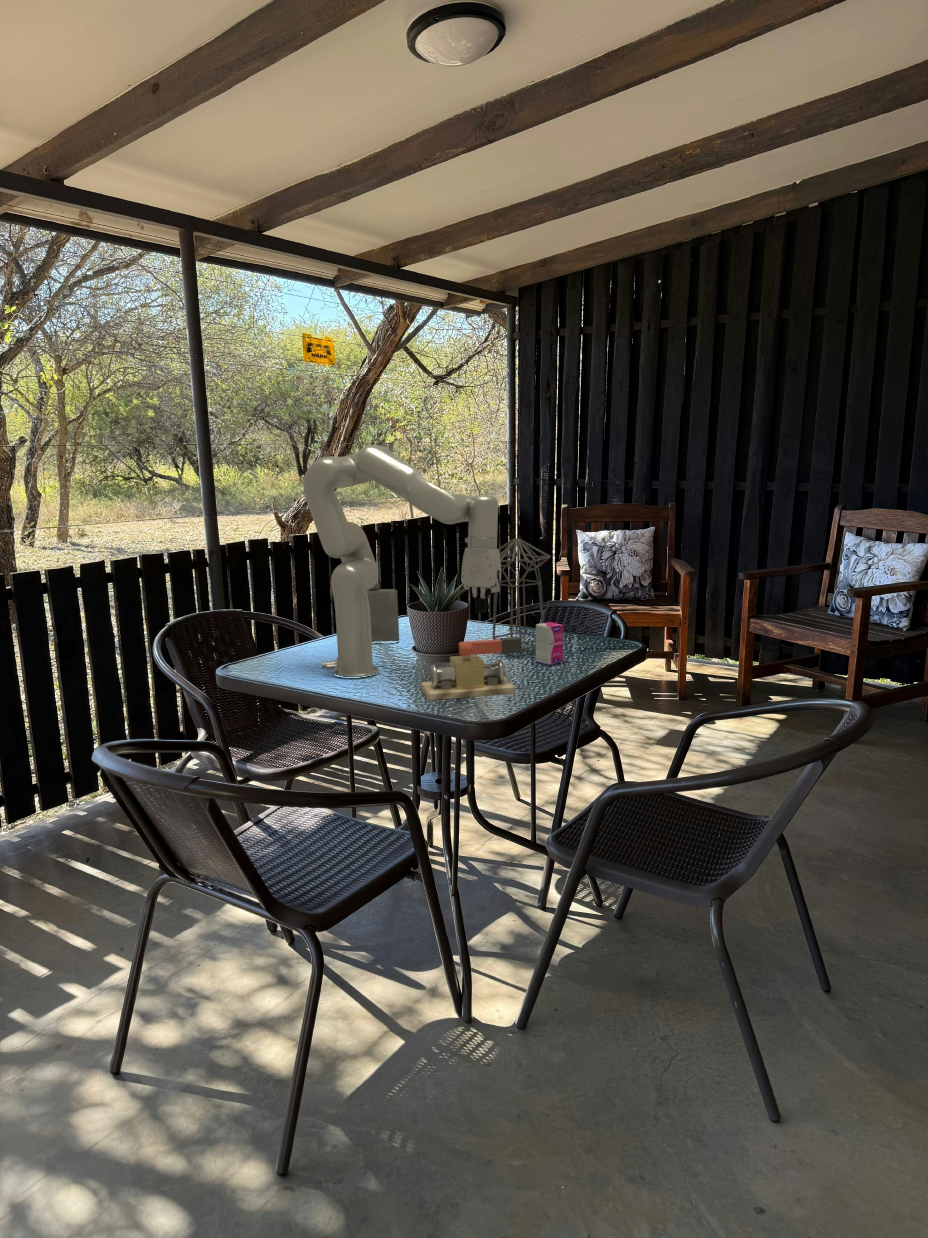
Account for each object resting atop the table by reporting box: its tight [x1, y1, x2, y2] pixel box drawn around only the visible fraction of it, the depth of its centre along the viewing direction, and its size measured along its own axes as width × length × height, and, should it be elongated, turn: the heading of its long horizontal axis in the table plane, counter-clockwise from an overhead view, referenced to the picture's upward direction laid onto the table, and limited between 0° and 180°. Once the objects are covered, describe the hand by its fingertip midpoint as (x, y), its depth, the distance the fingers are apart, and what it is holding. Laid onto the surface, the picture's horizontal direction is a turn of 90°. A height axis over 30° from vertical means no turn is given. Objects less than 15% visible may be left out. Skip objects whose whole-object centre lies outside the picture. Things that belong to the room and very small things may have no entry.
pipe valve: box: [429, 654, 505, 690], centre depth 203 cm, size 18×8×8 cm, turn 102°
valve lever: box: [458, 636, 523, 659], centre depth 203 cm, size 16×4×4 cm, turn 101°
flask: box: [367, 582, 400, 642], centre depth 265 cm, size 15×6×20 cm, turn 96°
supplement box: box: [535, 621, 564, 667], centre depth 230 cm, size 6×6×12 cm
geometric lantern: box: [491, 537, 552, 658], centre depth 241 cm, size 16×16×35 cm
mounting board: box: [420, 676, 517, 701], centre depth 204 cm, size 22×12×2 cm, turn 102°
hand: (480, 612), depth 214 cm, fingers closed
